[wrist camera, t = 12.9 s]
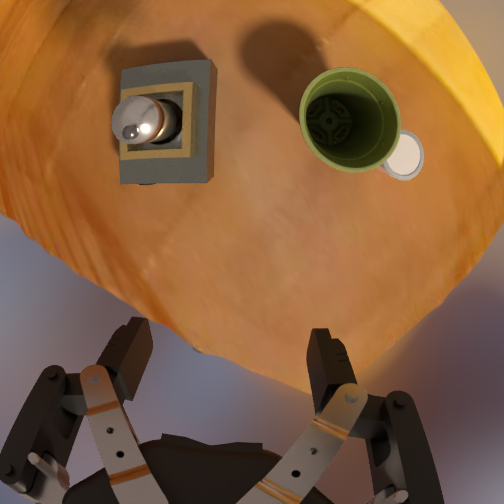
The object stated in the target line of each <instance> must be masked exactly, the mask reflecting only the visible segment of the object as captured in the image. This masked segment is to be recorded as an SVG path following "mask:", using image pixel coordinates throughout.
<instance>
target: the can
mask: <svg viewBox="0 0 504 504" xmlns="http://www.w3.org/2000/svg"><path fill="white" fill-rule="evenodd" d="M178 121H179V120H178V114H177V112H176V110H175V109H174V108H173V107H172V106H171V105H169V104H167V103H164V102H160V101H157V100H154V99H152V98H148V97H145V96H138V95H136V96H130V97H127V98H125V99H124V100H122V101H121V102H120V103H119V104H118V105H117V107H116V108H115V110H114V112H113V115H112V120H111V126H112V130H113V133H114V135H115V136H116V138H117V139H118V140H120V141H121V142H123V143H126V144H142V143H146V142H155V141H163V140H166V139H168V138H169V137H171V136H172V135H173V134H174V132H175V131H176V129H177V126H178Z"/></svg>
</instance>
